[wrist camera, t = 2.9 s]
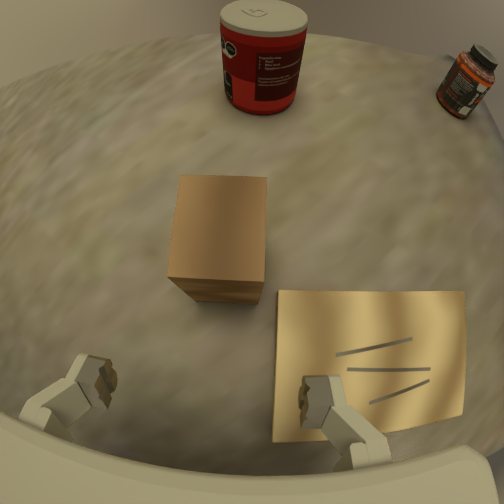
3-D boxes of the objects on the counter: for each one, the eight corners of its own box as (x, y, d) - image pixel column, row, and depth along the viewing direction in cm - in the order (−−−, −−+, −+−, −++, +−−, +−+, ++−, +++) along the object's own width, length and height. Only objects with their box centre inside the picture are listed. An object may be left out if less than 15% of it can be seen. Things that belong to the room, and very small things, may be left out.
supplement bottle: (468, 126, 31) (507, 76, 20) (434, 104, 32) (470, 48, 21) (466, 104, 33) (500, 57, 22) (435, 84, 33) (466, 32, 22)
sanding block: (195, 300, 24) (166, 276, 15) (201, 230, 25) (180, 175, 17) (257, 304, 24) (264, 281, 15) (260, 232, 25) (266, 177, 17)
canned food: (240, 67, 32) (239, -7, 21) (302, 84, 31) (317, 8, 21) (212, 105, 30) (203, 22, 19) (283, 125, 29) (296, 39, 18)
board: (271, 437, 20) (272, 442, 19) (277, 292, 24) (278, 289, 23) (454, 412, 20) (462, 414, 19) (456, 293, 24) (464, 290, 23)
